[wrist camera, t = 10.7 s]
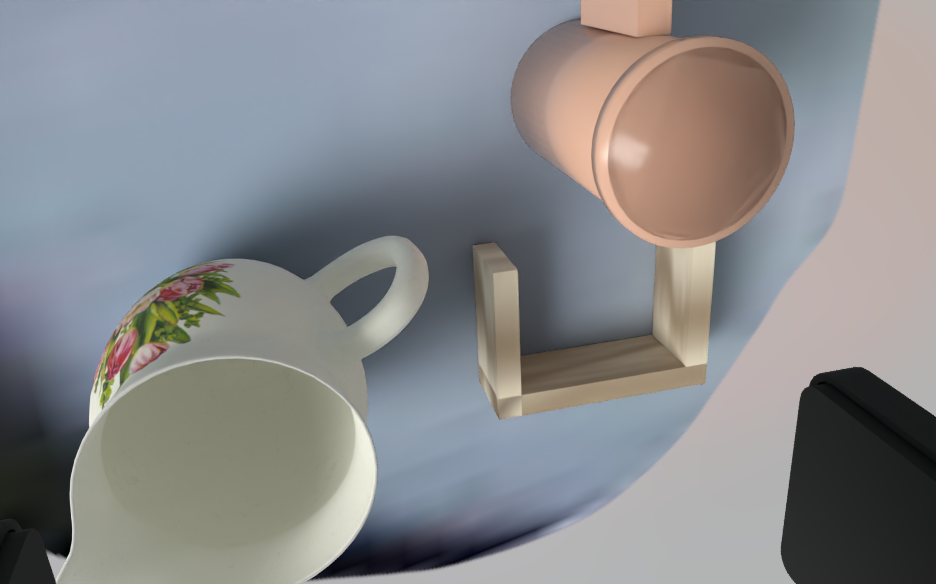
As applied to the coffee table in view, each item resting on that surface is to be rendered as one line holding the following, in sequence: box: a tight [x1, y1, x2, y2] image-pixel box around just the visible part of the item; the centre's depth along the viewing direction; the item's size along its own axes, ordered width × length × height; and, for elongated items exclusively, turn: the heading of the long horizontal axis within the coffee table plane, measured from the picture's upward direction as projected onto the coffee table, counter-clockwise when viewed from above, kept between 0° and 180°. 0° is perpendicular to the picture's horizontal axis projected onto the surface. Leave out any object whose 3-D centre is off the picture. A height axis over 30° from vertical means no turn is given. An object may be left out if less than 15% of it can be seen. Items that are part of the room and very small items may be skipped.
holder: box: [473, 242, 716, 420], centre depth 43 cm, size 8×11×4 cm
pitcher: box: [56, 235, 429, 584], centre depth 34 cm, size 11×18×14 cm, turn 127°
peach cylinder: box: [511, 0, 795, 248], centre depth 33 cm, size 13×8×12 cm, turn 3°
